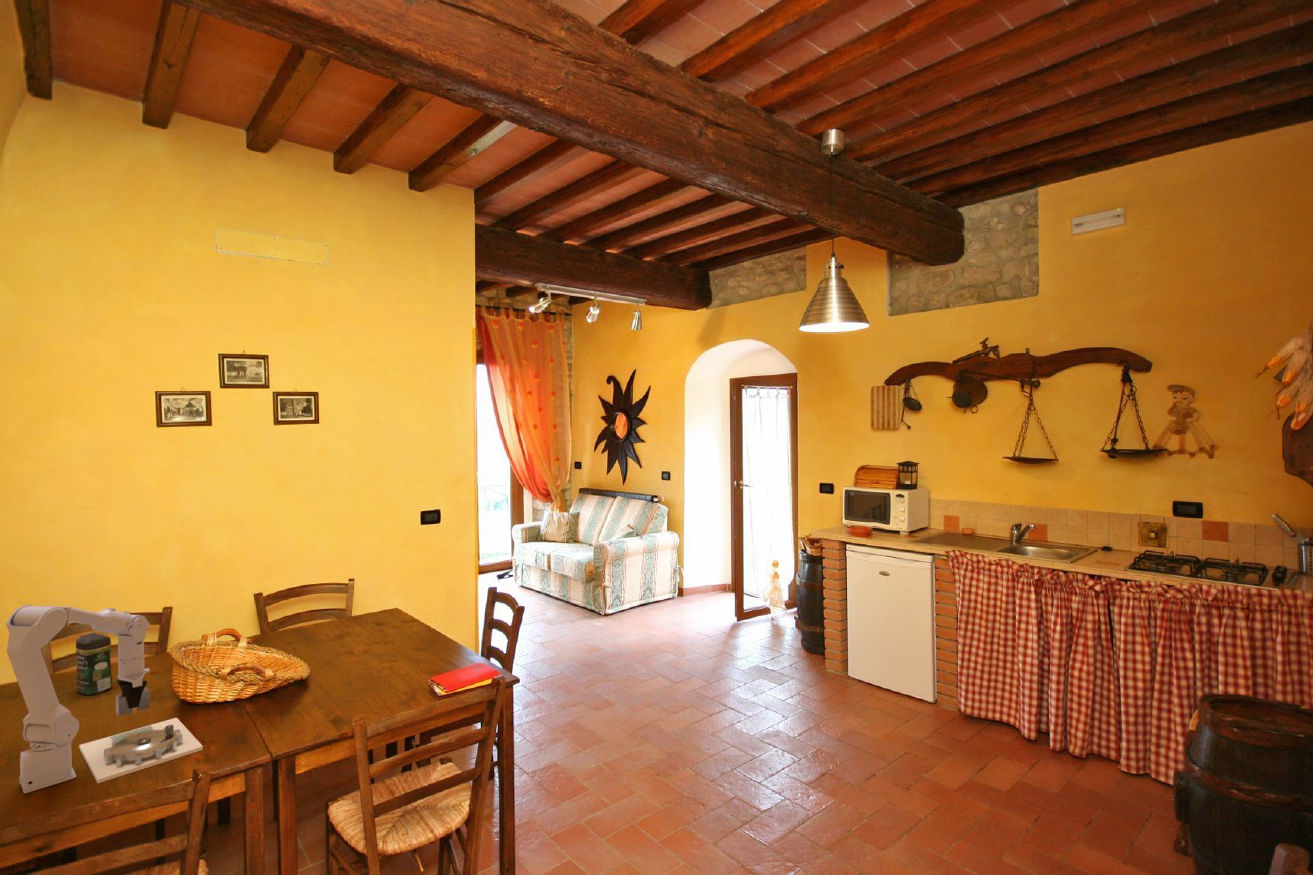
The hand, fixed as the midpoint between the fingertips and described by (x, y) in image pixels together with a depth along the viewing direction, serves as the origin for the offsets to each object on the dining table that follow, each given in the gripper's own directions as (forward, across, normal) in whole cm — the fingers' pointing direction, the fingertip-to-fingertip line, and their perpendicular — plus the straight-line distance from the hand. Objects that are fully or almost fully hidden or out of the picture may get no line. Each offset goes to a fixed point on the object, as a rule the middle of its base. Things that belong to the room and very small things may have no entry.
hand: (132, 705), depth 184 cm
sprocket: (+8, -14, 0) cm, 16 cm away
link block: (+2, 0, 0) cm, 2 cm away
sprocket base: (+9, -10, 0) cm, 13 cm away
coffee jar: (+10, +50, +1) cm, 51 cm away
